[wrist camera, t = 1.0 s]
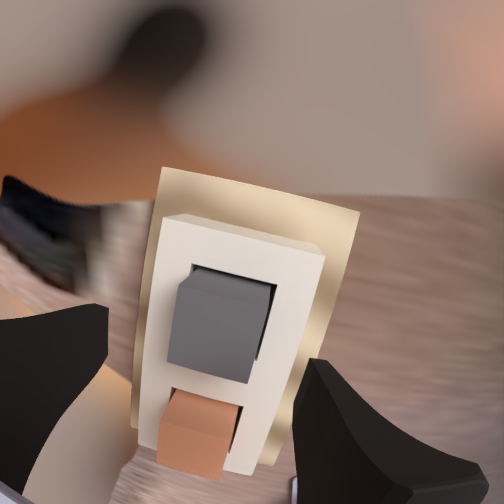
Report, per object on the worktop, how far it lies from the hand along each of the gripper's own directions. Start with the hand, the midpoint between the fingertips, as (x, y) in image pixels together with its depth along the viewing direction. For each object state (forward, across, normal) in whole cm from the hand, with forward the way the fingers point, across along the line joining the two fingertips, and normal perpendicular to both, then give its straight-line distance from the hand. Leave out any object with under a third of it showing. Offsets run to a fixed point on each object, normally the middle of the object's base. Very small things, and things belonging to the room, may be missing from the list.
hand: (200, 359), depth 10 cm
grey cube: (+7, 0, +1) cm, 7 cm away
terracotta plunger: (+7, 0, +9) cm, 12 cm away
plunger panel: (+10, 0, +5) cm, 12 cm away
